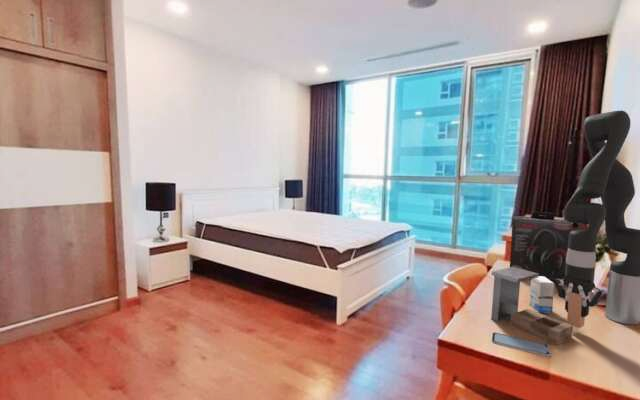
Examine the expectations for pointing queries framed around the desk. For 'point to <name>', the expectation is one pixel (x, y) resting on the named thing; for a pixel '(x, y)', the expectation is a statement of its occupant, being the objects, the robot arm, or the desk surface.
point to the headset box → (540, 244)
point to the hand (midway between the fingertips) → (576, 313)
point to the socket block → (541, 326)
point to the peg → (575, 310)
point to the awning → (508, 291)
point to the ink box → (542, 294)
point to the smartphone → (521, 344)
